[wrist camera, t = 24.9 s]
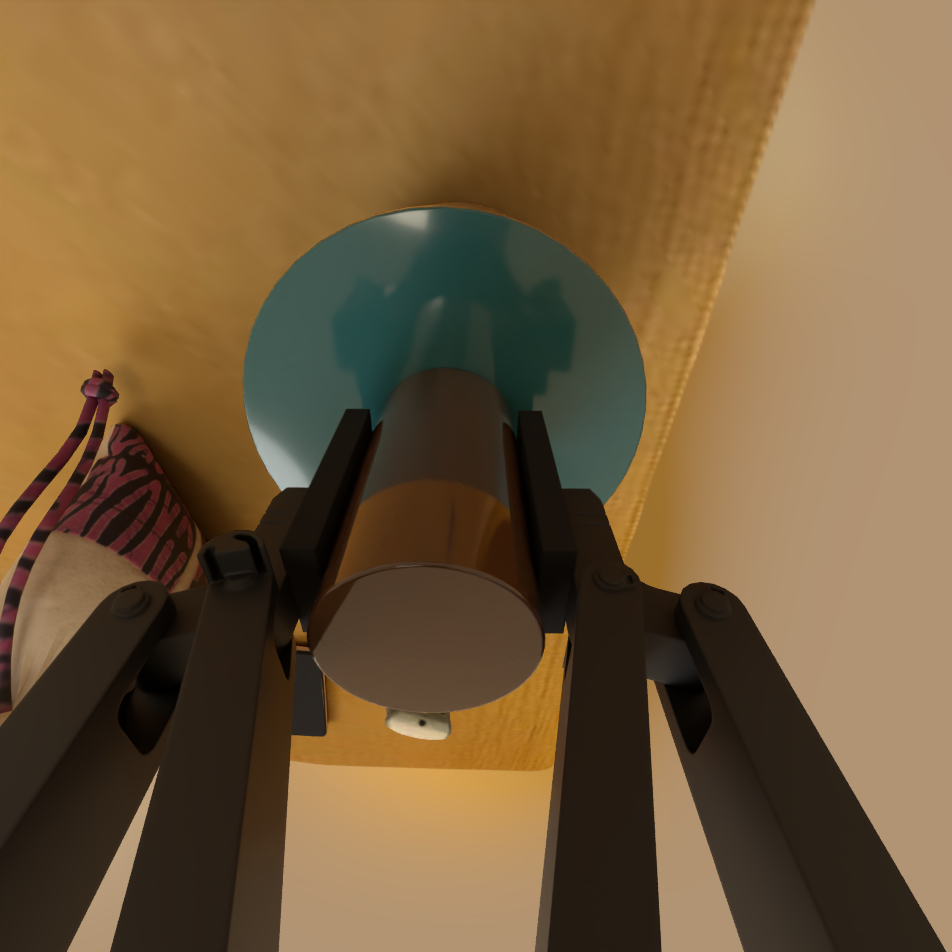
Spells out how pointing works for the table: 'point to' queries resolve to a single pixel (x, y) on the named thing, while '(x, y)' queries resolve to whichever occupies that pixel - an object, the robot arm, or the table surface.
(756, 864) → the robot arm
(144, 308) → the table surface
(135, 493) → the pouch
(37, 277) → the table surface
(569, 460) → the lid
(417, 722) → the cream tapered case
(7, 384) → the table surface
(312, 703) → the smartphone
